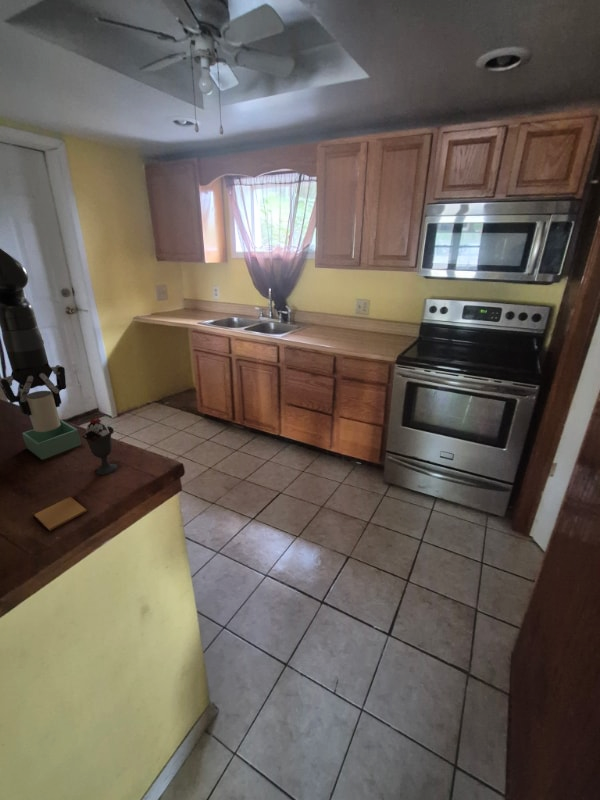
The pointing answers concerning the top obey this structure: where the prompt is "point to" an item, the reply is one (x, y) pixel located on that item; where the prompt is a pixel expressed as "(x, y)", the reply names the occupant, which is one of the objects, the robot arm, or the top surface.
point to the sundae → (100, 443)
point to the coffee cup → (43, 411)
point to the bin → (52, 440)
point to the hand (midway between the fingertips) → (42, 410)
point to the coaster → (60, 513)
